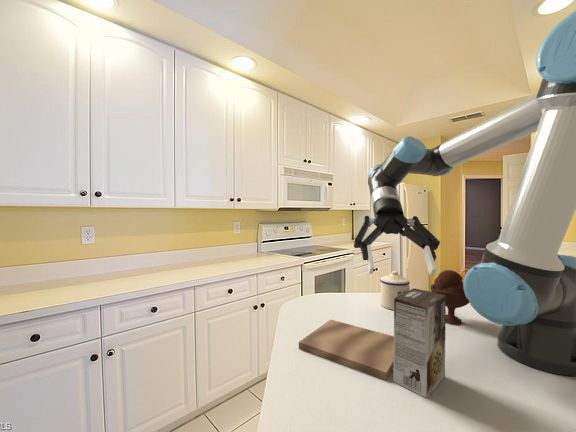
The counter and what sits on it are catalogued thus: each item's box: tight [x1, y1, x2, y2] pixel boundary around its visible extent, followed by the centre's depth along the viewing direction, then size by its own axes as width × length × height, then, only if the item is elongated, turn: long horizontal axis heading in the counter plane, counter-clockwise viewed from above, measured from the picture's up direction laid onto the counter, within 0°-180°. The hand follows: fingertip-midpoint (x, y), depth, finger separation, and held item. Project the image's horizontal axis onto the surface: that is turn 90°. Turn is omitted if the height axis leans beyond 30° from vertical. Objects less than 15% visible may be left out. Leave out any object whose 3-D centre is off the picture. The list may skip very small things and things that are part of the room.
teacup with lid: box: [379, 270, 411, 311], centre depth 92 cm, size 12×9×12 cm
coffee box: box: [392, 288, 447, 399], centre depth 52 cm, size 9×6×16 cm
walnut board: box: [298, 319, 394, 381], centre depth 64 cm, size 20×16×2 cm
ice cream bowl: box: [430, 269, 470, 326], centre depth 79 cm, size 11×11×15 cm
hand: (401, 271), depth 63 cm, fingers open, 13 cm apart
